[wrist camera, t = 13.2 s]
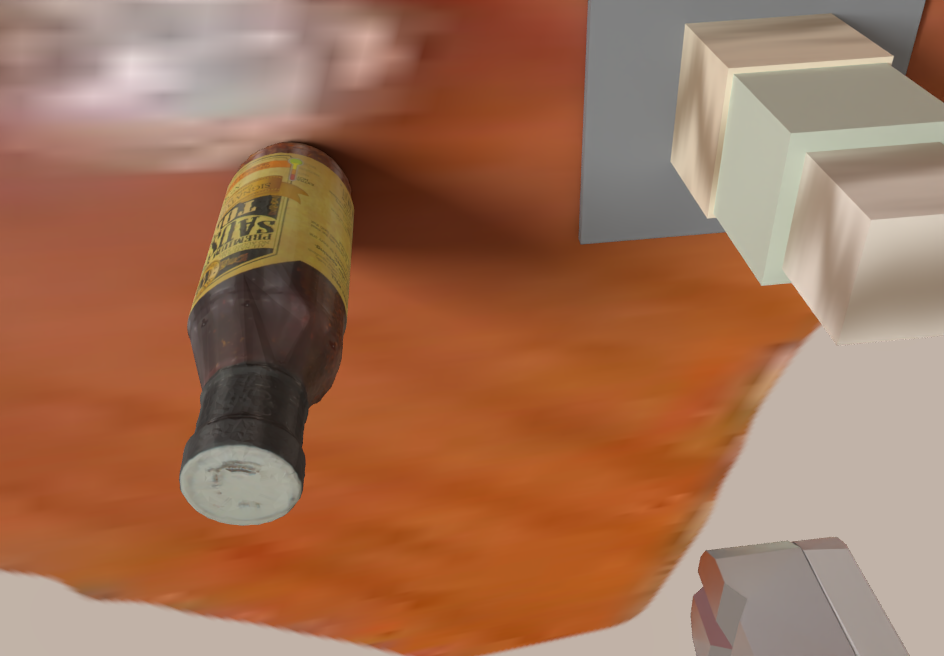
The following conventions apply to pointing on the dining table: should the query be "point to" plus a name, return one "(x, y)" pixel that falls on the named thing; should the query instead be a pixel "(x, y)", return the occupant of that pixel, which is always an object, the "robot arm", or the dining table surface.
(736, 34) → the birch block
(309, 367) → the sauce bottle
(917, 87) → the sage block
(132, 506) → the dining table surface
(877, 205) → the cream cube
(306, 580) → the dining table surface
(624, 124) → the slate mat
